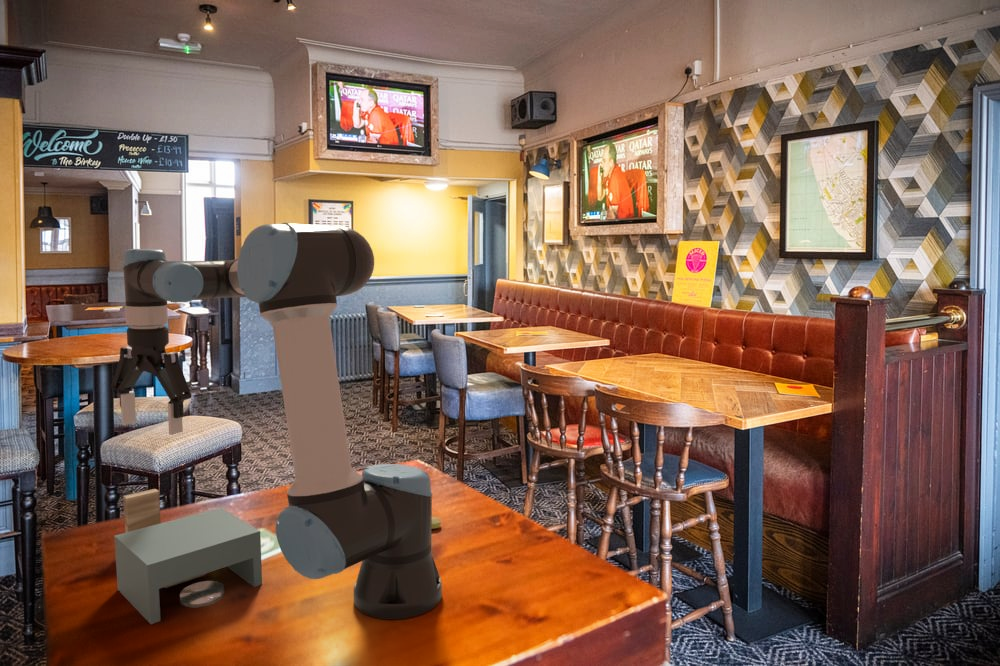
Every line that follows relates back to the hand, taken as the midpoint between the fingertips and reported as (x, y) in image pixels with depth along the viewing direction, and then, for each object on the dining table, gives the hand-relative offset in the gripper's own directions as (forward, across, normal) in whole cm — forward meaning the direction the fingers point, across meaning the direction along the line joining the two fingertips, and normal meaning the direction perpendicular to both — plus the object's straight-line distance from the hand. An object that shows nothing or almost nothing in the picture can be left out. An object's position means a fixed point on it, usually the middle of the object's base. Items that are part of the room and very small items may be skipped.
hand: (152, 428), depth 143 cm
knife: (+23, -40, -26) cm, 53 cm away
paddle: (+23, -12, +9) cm, 27 cm away
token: (+22, -29, +15) cm, 40 cm away
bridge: (+22, -25, +13) cm, 36 cm away
